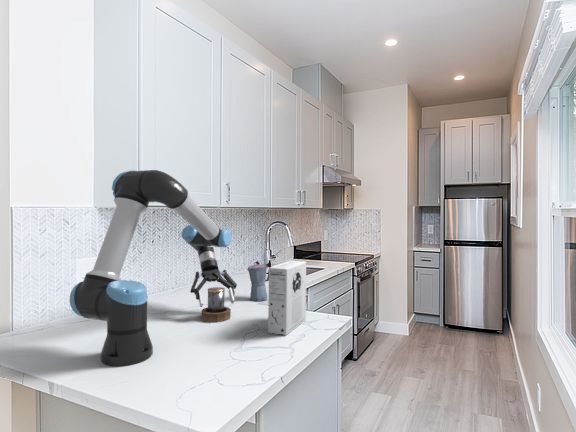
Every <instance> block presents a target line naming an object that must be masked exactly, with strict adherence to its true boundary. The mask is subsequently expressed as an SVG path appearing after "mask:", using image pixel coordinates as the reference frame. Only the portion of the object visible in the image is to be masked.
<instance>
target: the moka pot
mask: <svg viewBox="0 0 576 432" xmlns="http://www.w3.org/2000/svg"><path fill="white" fill-rule="evenodd" d="M270 267H272V266H271V265H270V264H269V263H268V262H267V263H266V264H265V263H264V264H259V261H258V260H256V261H255V264H254V265H250V266H248V267H247V269H246V270H247V271H248V273H249V279H250V282H251V284H250V285H251V287H250V301H253V302H263V301H266V300H268V299H269V296H268V293H267V285H266V282H269V268H270ZM267 268H268V269H267Z"/></svg>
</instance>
